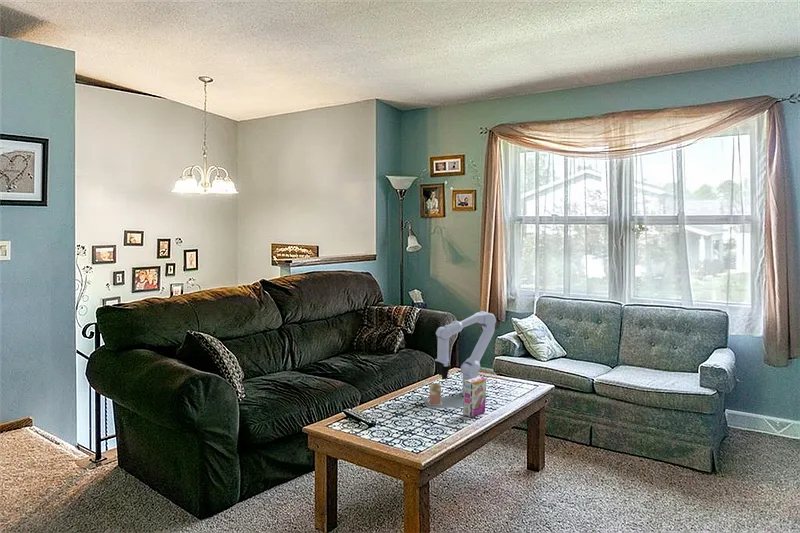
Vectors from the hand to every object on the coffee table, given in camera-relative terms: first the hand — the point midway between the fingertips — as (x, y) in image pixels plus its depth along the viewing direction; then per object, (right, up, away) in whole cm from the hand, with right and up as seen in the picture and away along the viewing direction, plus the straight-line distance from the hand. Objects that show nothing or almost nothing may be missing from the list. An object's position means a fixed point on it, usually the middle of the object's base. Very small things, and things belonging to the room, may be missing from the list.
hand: (442, 376), depth 282 cm
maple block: (-4, -6, -9) cm, 12 cm away
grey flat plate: (0, -11, -8) cm, 14 cm away
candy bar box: (+13, -13, -24) cm, 30 cm away
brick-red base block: (-4, -11, -9) cm, 15 cm away
